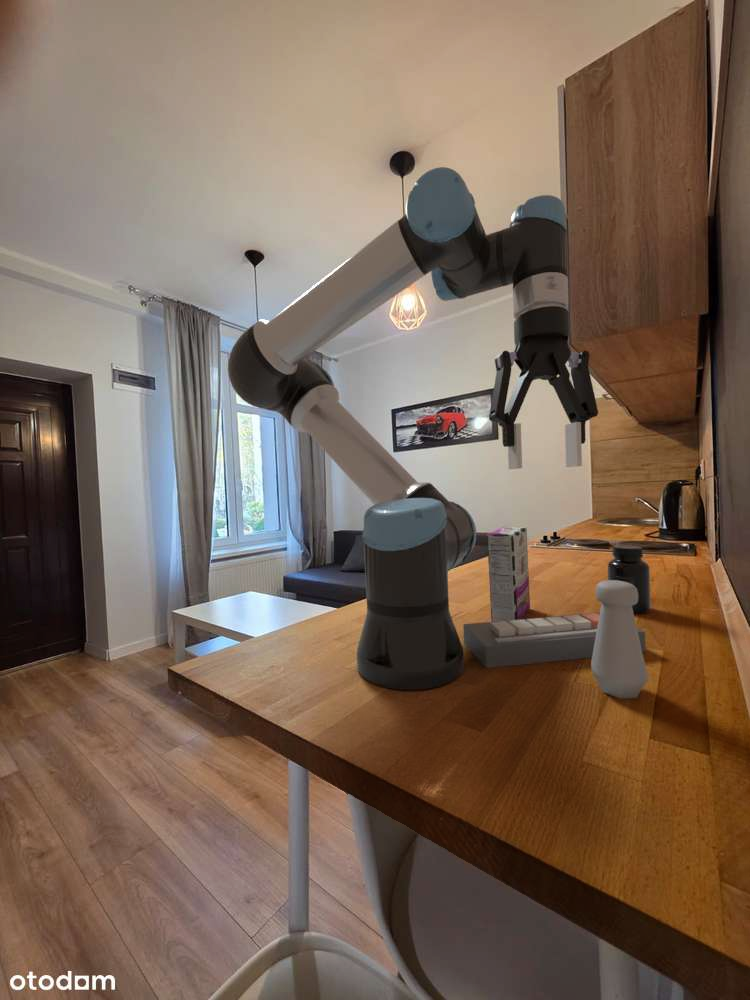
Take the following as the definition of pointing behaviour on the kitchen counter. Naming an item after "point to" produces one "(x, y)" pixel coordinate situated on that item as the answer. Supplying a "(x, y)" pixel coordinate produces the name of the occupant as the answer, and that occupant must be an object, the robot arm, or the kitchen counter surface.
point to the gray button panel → (534, 639)
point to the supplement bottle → (632, 574)
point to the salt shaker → (618, 642)
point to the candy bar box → (508, 573)
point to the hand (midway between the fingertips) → (544, 467)
